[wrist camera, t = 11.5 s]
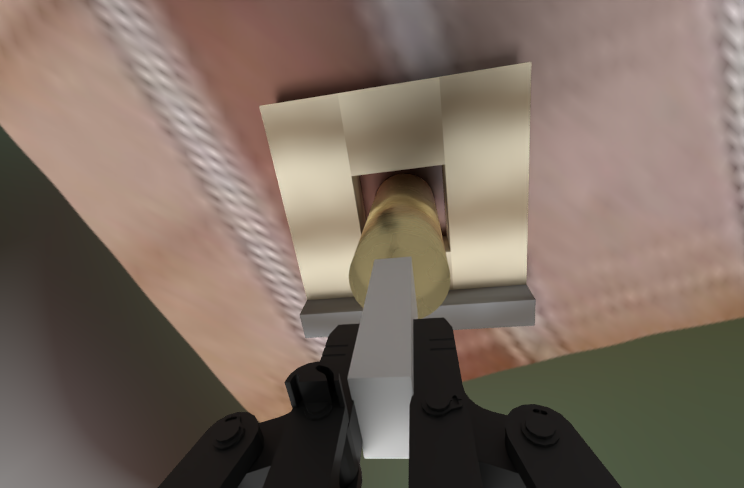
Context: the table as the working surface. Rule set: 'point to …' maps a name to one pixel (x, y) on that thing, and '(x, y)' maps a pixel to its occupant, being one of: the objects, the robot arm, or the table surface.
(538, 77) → the table surface
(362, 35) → the table surface
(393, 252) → the pale yellow cylinder
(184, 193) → the table surface
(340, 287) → the jig
